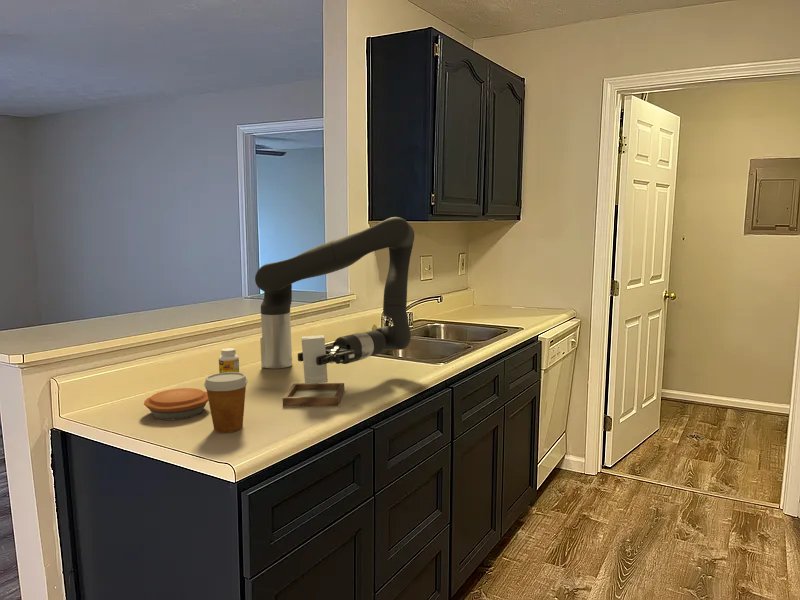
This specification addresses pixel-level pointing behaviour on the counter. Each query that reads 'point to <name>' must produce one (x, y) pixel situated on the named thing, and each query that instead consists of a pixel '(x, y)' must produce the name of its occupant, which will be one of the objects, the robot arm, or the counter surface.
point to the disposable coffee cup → (226, 400)
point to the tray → (314, 394)
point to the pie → (177, 403)
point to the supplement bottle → (228, 361)
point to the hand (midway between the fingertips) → (307, 359)
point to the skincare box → (314, 359)
